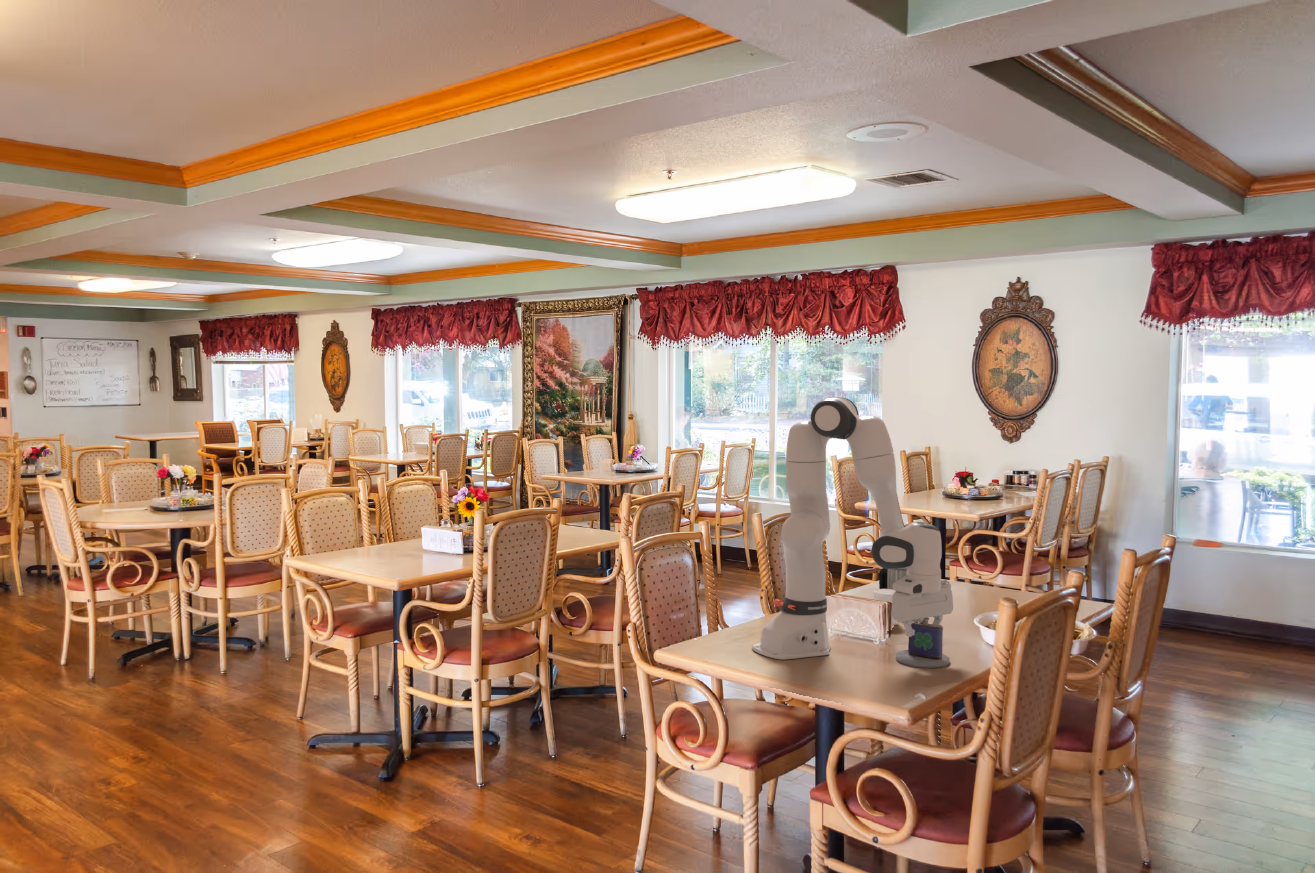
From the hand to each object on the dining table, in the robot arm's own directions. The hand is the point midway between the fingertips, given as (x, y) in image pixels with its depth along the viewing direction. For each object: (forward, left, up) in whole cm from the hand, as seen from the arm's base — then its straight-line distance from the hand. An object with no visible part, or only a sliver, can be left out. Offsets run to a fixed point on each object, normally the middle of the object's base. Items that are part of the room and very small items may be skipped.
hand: (922, 633), depth 248 cm
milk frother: (+34, +46, -8) cm, 57 cm away
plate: (0, 0, -7) cm, 7 cm away
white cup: (+21, +34, -8) cm, 41 cm away
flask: (+1, 0, -7) cm, 7 cm away
